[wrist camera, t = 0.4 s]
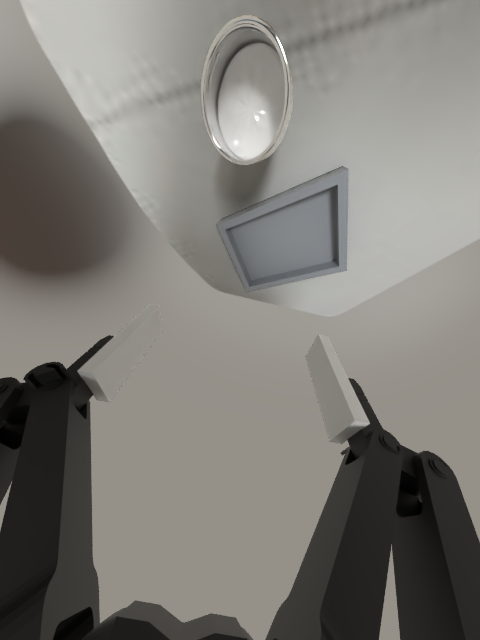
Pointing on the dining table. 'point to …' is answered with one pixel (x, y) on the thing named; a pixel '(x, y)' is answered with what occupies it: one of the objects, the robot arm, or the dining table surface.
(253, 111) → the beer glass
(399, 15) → the dining table surface
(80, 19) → the dining table surface
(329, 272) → the tray
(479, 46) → the dining table surface
